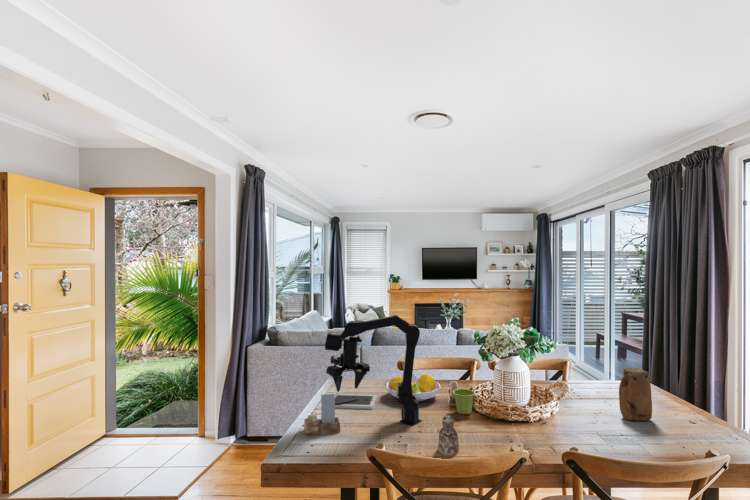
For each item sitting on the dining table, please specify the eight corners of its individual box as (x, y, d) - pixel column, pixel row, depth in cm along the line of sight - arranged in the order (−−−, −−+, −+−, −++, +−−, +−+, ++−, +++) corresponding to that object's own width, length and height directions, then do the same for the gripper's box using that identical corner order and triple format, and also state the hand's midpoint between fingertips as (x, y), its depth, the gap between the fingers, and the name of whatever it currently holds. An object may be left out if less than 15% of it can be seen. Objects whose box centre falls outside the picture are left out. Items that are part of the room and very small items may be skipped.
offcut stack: (317, 425, 163) (316, 413, 163) (318, 431, 157) (318, 418, 157) (304, 427, 162) (304, 414, 162) (305, 432, 156) (305, 420, 156)
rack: (337, 426, 165) (337, 417, 165) (340, 432, 159) (339, 423, 159) (304, 429, 162) (304, 420, 162) (305, 435, 156) (305, 426, 156)
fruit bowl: (394, 387, 217) (394, 365, 217) (445, 391, 208) (445, 369, 208) (376, 404, 190) (376, 379, 191) (434, 410, 181) (434, 384, 182)
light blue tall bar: (334, 428, 163) (333, 393, 163) (335, 431, 160) (334, 396, 161) (321, 429, 162) (321, 394, 162) (322, 432, 159) (321, 397, 159)
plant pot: (466, 417, 172) (466, 396, 172) (449, 412, 179) (448, 391, 179) (479, 412, 178) (479, 392, 179) (462, 407, 185) (461, 387, 186)
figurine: (436, 453, 140) (435, 417, 141) (440, 444, 147) (439, 410, 147) (457, 456, 138) (456, 420, 138) (460, 447, 144) (459, 413, 145)
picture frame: (327, 409, 186) (372, 410, 184) (327, 403, 187) (372, 404, 184) (334, 398, 202) (376, 399, 199) (334, 392, 202) (376, 393, 200)
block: (641, 414, 173) (639, 366, 174) (655, 421, 165) (653, 371, 166) (617, 416, 172) (615, 367, 173) (630, 422, 164) (628, 372, 165)
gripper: (355, 346, 182) (352, 381, 182) (320, 349, 170) (317, 387, 169) (371, 351, 174) (369, 388, 173) (335, 355, 162) (332, 395, 161)
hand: (347, 389), depth 170 cm, fingers open, 9 cm apart
